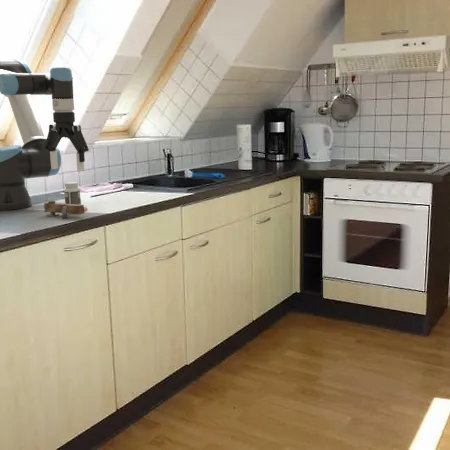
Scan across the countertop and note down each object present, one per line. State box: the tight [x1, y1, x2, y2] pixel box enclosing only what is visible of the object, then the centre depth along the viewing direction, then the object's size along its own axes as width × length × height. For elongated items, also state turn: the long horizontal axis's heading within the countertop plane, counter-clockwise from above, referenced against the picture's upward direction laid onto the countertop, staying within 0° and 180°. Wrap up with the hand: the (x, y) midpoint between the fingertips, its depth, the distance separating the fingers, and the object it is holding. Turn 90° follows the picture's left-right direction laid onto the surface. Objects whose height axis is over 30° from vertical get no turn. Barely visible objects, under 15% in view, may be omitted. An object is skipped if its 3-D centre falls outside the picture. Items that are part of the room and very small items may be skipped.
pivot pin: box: [46, 212, 60, 217], centre depth 210 cm, size 4×4×1 cm
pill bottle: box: [63, 181, 82, 205], centre depth 217 cm, size 6×6×10 cm
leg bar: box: [43, 200, 85, 216], centre depth 207 cm, size 16×2×4 cm, turn 63°
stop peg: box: [61, 207, 69, 220], centre depth 203 cm, size 2×2×4 cm
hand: (67, 170), depth 216 cm, fingers open, 13 cm apart
